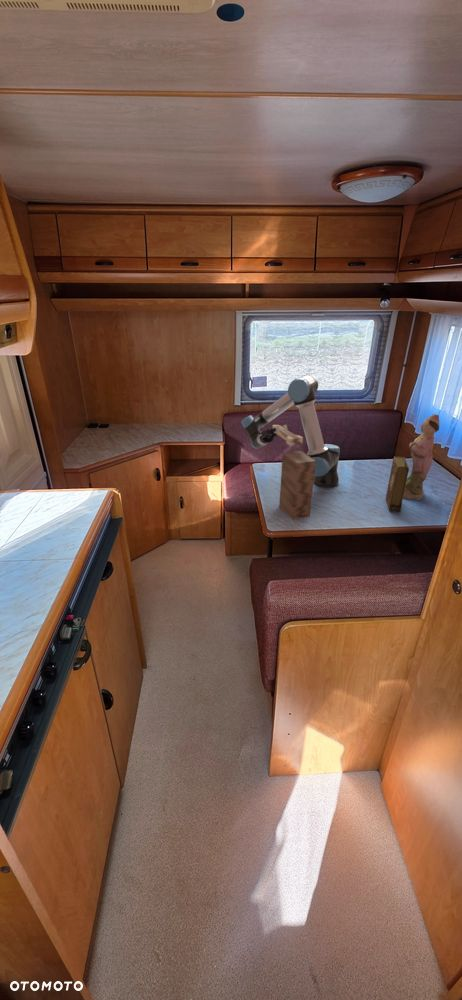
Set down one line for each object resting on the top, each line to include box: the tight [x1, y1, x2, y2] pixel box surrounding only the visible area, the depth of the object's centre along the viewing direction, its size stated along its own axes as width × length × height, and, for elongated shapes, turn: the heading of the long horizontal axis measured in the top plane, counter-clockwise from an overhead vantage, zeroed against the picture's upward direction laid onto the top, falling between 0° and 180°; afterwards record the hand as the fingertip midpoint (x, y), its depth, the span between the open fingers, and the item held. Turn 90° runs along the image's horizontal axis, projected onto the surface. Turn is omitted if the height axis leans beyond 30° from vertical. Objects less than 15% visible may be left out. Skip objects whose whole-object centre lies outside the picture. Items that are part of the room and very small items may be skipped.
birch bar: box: [271, 424, 304, 446], centre depth 220 cm, size 7×24×3 cm, turn 20°
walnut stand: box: [278, 450, 316, 520], centre depth 216 cm, size 10×15×30 cm, turn 20°
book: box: [385, 455, 410, 513], centre depth 224 cm, size 16×6×25 cm, turn 168°
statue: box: [403, 414, 441, 500], centre depth 233 cm, size 16×17×45 cm
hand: (282, 427), depth 221 cm, fingers closed on birch bar, 3 cm apart
